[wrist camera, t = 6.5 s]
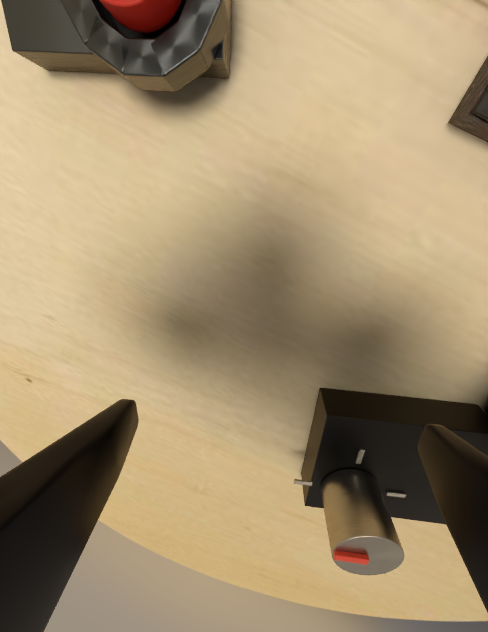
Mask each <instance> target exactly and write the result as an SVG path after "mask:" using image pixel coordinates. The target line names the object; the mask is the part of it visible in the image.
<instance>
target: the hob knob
mask: <svg viewBox="0 0 488 632" xmlns="http://www.w3.org/2000/svg"><path fill="white" fill-rule="evenodd" d="M321 495H322V501H323V507H324V512H325V518H326V524H327V530H328V536H329V541H330V547H331V553H332V558H333V560H334V562H335V563H336V564H337V565H338V566H339V567H340V568H342V569H343V570H345V571H348V572H351V573H354V574H359V575H378V574H383V573H387V572H390V571H392V570H394V569H396V568H397V567H398V566H399V565H400V564H401V563H402V562H403V560H404V551H403V549H402V546H401V543H400V541H399V538H398V535H397V533H396V530H395V527H394V525H393V522H392V519H391V517H390V514H389V511H388V509H387V506H386V503H385V501H384V498H383V495H382V493H381V490H380V487H379V485H378V482H377V480H376V479H375V478H374V477H373V476H372V475H370V474H369V473H367V472H364V471H361V470H356V469H344V470H339V471H336V472H333V473H331V474H330V475H328V476H327V477H326V478H325V479H324V480H323V482H322V484H321Z"/></svg>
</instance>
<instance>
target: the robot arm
mask: <svg viewBox="0 0 488 632" xmlns="http://www.w3.org/2000/svg"><path fill="white" fill-rule="evenodd" d="M486 414H487V415H488V412H487V413H486ZM137 426H138V414H137V407H136V403H135V401H134V400H128V399H121V400H119V401H118V402H116V403H115V404H113V405H111V406H110V407H108V408H107V409H105V410H104V411H102V412H101V413H99V414H97V415H96V416H94V417H93V418H91V419H90V420H88V421H87V422H85V423H83V424H82V425H80V426H79V427H77V428H76V429H74V430H73V431H71V432H70V433H68V434H66V435H65V436H63V437H62V438H60V439H59V440H57V441H56V442H54V443H52V444H51V445H49V446H48V447H46V448H45V449H43V450H42V451H40V452H38V453H37V454H35V455H34V456H32V457H31V458H29V459H28V460H26V461H25V462H23V463H21V464H20V465H19V466H17V467H15V468H14V469H12V470H11V471H9V472H7V473H6V474H4V475H3V476H1V477H0V632H44V630H45V628H46V626H47V623H48V622H49V619H50V617H51V615H52V613H53V611H54V609H55V607H56V605H57V603H58V601H59V599H60V597H61V595H62V593H63V591H64V588H65V586H66V584H67V582H68V580H69V578H70V576H71V574H72V572H73V570H74V568H75V566H76V564H77V562H78V560H79V557H80V555H81V554H82V551H83V549H84V547H85V545H86V543H87V541H88V539H89V536H90V535H91V533H92V531H93V529H94V527H95V525H96V523H97V521H98V519H99V517H100V514H101V512H102V510H103V508H104V506H105V504H106V502H107V500H108V498H109V496H110V494H111V492H112V490H113V488H114V486H115V484H116V481H117V479H118V477H119V475H120V472H121V470H122V467H123V465H124V462H125V459H126V456H127V454H128V451H129V448H130V446H131V443H132V440H133V437H134V435H135V432H136V429H137ZM417 447H418V452H419V455H420V458H421V461H422V463H423V466H424V469H425V472H426V475H427V477H428V480H429V483H430V486H431V488H432V491H433V494H434V497H435V499H436V502H437V504H438V507H439V509H440V511H441V513H442V516H443V518H444V520H445V522H446V524H447V526H448V529H449V531H450V533H451V535H452V537H453V539H454V541H455V544H456V546H457V548H458V550H459V552H460V554H461V556H462V559H463V561H464V563H465V565H466V567H467V569H468V571H469V574H470V576H471V578H472V580H473V582H474V584H475V586H476V589H477V591H478V593H479V595H480V597H481V599H482V601H483V604H484V606H485V608H486V610H487V612H488V456H486V455H485V454H484V453H482V452H481V451H479V450H478V449H476V448H475V447H473V446H472V445H470V444H469V443H468V442H466V441H465V440H463V439H462V438H460V437H459V436H457V435H456V434H454V433H453V432H451V431H450V430H449V429H447V428H446V427H444V426H442V425H437V424H427V425H425V427H424V429H423V431H422V434H421V436H420V439H419V441H418V445H417Z"/></svg>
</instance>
